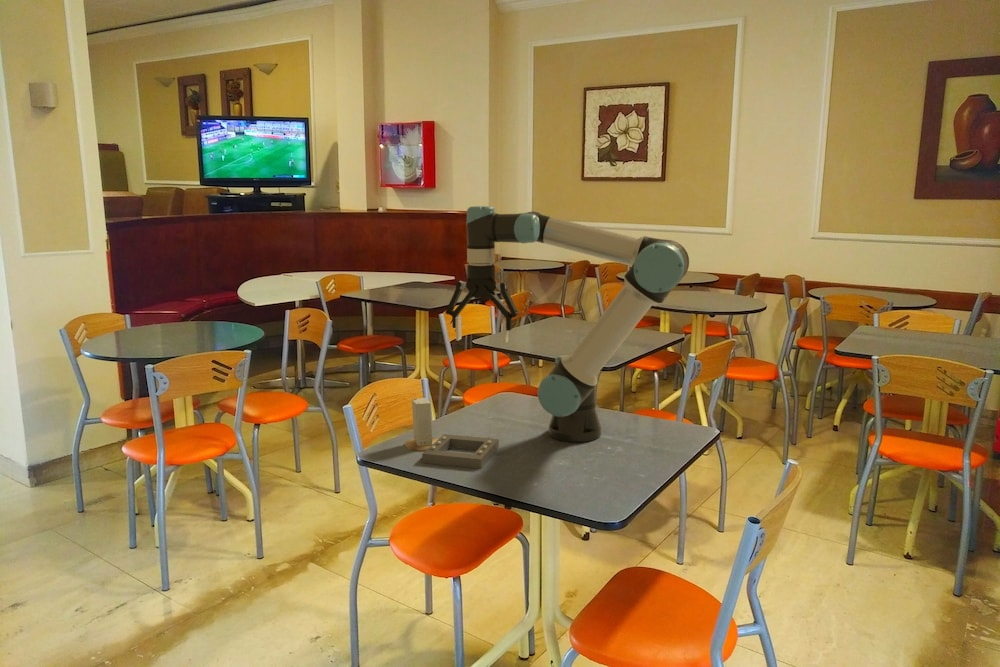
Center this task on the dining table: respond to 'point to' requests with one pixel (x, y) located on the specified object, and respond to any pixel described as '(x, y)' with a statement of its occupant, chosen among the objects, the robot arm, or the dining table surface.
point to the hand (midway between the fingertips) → (482, 340)
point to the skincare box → (422, 421)
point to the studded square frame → (476, 460)
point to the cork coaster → (413, 445)
